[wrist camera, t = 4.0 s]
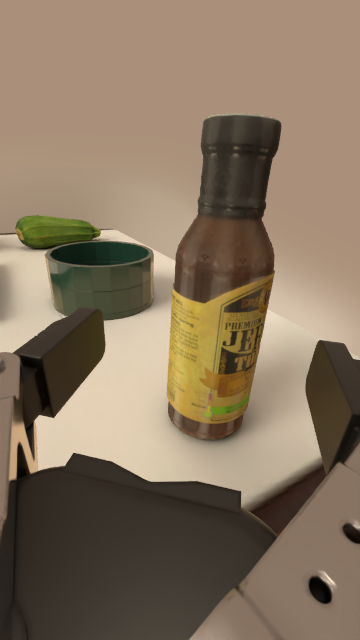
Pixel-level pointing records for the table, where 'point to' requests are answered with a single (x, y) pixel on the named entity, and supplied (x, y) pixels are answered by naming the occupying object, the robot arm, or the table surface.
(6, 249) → the table surface
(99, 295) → the pot
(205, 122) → the sauce bottle
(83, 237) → the vegetable
